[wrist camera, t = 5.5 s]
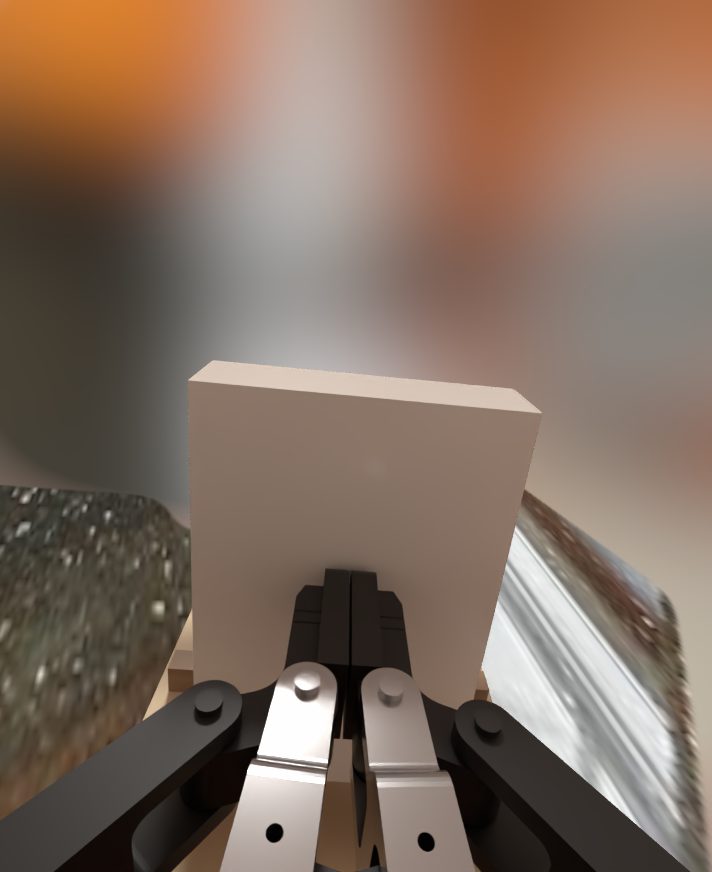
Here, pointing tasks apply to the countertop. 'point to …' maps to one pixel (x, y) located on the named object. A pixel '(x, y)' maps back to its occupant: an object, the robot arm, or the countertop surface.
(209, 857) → the board
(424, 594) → the tile
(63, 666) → the countertop surface
